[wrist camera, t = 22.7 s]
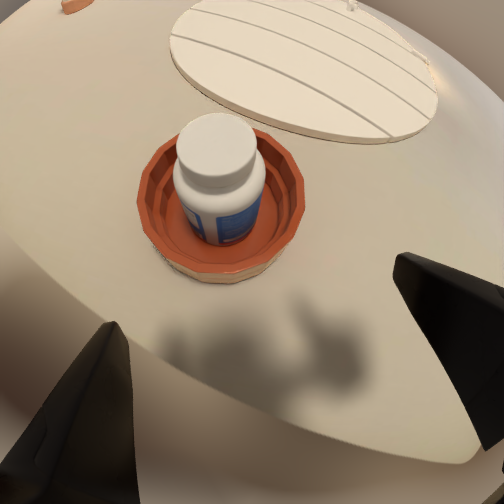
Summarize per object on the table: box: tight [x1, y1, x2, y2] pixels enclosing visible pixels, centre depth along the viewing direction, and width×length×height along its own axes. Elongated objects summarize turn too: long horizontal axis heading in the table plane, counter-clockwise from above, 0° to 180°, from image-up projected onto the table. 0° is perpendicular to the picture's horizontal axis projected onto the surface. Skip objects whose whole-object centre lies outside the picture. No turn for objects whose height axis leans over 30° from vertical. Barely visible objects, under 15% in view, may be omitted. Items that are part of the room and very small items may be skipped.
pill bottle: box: [173, 113, 266, 246], centre depth 18 cm, size 6×5×10 cm
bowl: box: [137, 128, 305, 284], centre depth 21 cm, size 11×11×5 cm
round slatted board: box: [170, 0, 438, 144], centre depth 29 cm, size 40×39×3 cm
